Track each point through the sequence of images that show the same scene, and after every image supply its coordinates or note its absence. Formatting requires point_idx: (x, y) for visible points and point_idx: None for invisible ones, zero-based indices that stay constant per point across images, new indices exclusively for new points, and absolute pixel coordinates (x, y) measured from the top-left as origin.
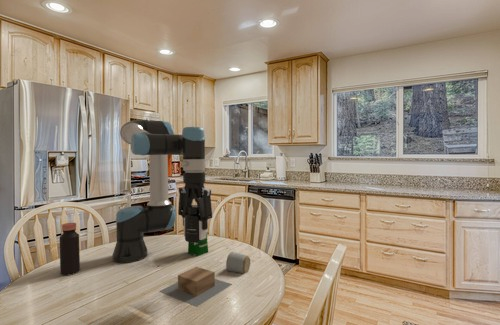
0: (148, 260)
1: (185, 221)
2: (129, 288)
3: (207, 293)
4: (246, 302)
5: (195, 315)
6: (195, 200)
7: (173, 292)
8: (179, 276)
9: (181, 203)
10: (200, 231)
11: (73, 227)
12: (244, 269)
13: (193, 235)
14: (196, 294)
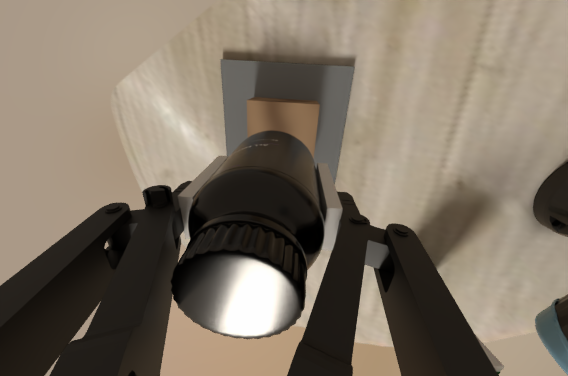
0: (511, 196)
1: (287, 166)
2: (454, 45)
3: (243, 121)
4: (166, 140)
5: (208, 38)
6: (113, 337)
7: (315, 82)
8: (312, 104)
9: (416, 309)
10: (206, 169)
11: None
12: None
13: (240, 145)
14: (253, 97)
